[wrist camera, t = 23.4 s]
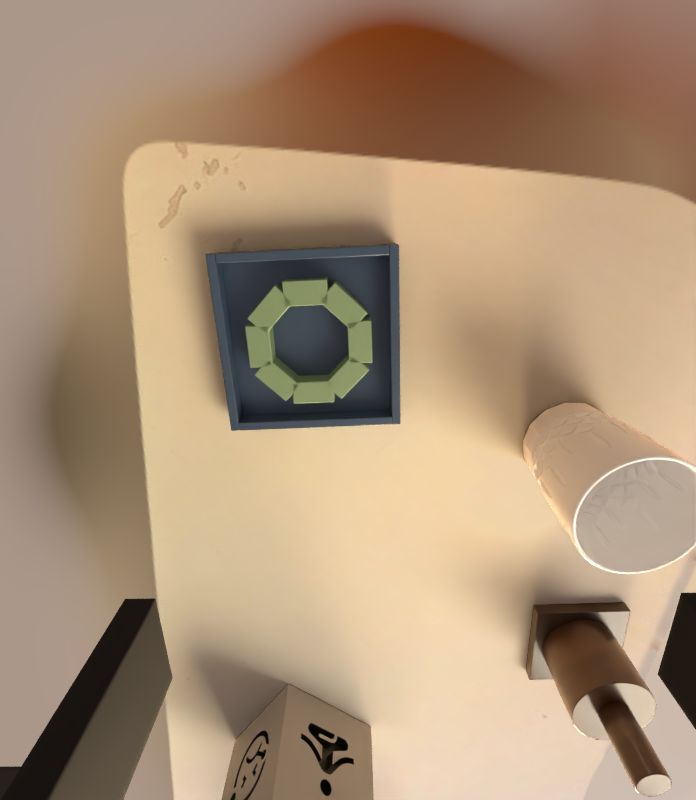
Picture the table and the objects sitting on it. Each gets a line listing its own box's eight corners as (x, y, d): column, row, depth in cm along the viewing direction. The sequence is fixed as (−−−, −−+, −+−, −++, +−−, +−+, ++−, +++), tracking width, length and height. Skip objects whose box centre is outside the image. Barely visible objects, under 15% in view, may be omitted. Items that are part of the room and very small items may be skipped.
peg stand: (624, 602, 41) (728, 744, 29) (610, 668, 43) (701, 821, 32) (533, 604, 41) (602, 747, 29) (525, 670, 44) (585, 823, 32)
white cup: (640, 422, 35) (746, 493, 25) (575, 501, 37) (651, 593, 28) (554, 376, 33) (633, 432, 24) (494, 461, 36) (544, 542, 26)
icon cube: (314, 777, 49) (305, 906, 40) (235, 739, 47) (206, 865, 38) (370, 726, 46) (375, 852, 37) (288, 683, 44) (271, 804, 35)
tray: (396, 243, 30) (399, 244, 28) (397, 413, 35) (400, 424, 33) (214, 252, 31) (205, 254, 29) (237, 420, 35) (231, 431, 33)
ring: (369, 275, 31) (370, 277, 29) (372, 393, 33) (373, 400, 32) (244, 281, 31) (239, 283, 29) (258, 398, 34) (254, 405, 32)
